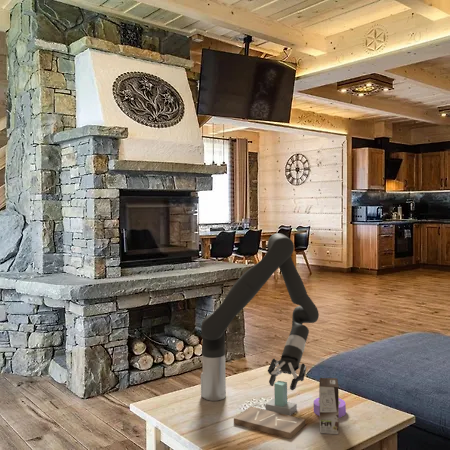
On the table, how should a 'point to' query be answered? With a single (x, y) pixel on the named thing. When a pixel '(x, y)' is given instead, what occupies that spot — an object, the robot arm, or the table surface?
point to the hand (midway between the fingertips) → (281, 387)
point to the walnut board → (270, 422)
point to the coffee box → (329, 405)
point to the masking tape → (341, 407)
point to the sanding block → (281, 400)
